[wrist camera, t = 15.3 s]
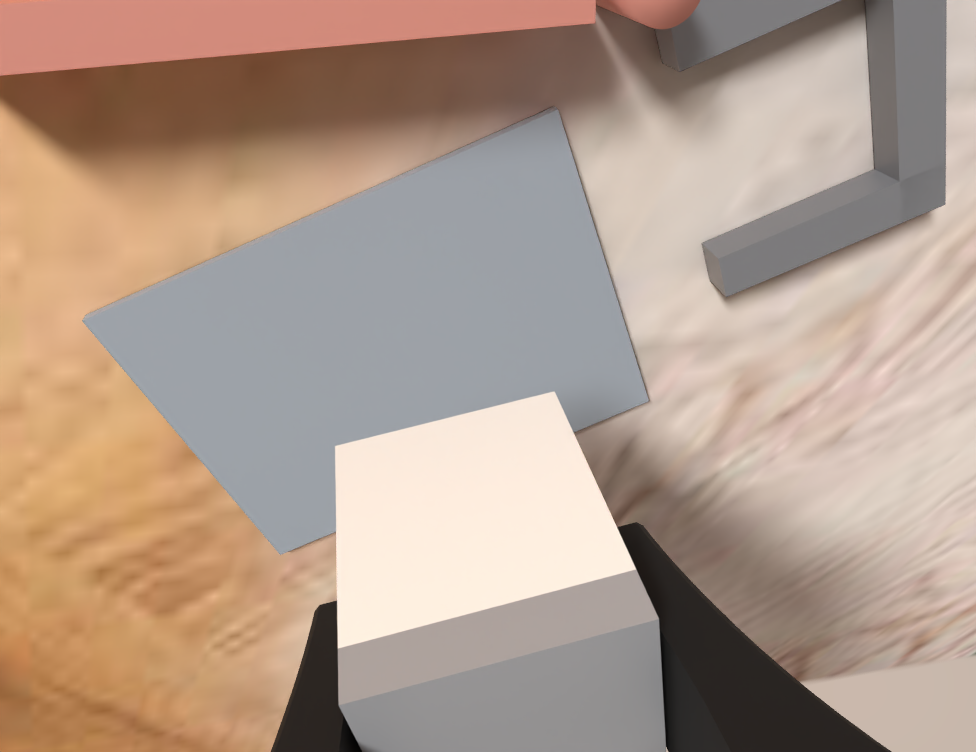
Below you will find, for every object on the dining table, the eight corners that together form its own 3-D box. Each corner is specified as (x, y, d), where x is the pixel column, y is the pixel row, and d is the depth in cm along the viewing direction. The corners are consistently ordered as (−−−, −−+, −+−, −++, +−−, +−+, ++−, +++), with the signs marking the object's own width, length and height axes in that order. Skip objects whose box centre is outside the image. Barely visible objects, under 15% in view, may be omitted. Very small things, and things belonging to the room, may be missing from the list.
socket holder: (914, -110, 15) (946, -111, 15) (919, 191, 20) (945, 204, 19) (650, 8, 16) (667, 14, 15) (709, 280, 20) (726, 297, 19)
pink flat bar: (642, 5, 16) (700, 25, 13) (-53, 65, 14) (-134, 100, 12) (647, -71, 15) (709, -64, 12) (-89, -17, 13) (-183, 3, 11)
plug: (554, 391, 13) (659, 618, 9) (576, 542, 15) (666, 779, 11) (335, 445, 13) (338, 705, 9) (390, 591, 15) (413, 851, 11)
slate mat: (554, 105, 17) (557, 109, 16) (645, 395, 22) (648, 401, 21) (86, 315, 17) (82, 321, 17) (280, 547, 22) (280, 554, 22)
